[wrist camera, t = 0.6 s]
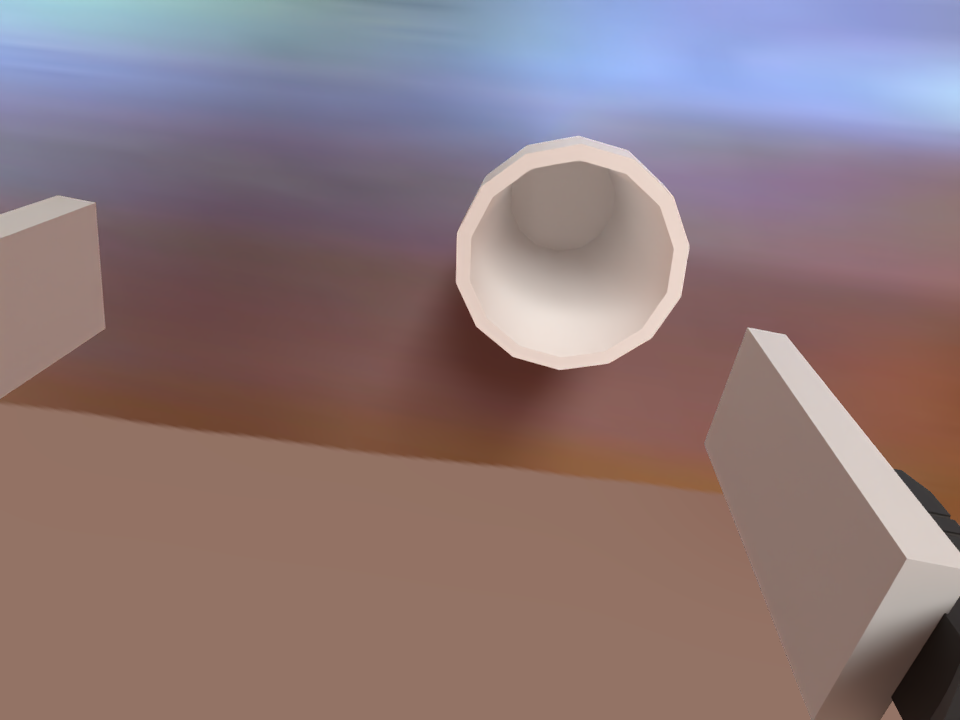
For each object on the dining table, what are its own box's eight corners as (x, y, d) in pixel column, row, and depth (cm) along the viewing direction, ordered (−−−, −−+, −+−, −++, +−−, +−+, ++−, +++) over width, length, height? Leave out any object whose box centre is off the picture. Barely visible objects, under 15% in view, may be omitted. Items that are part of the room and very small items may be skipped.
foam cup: (463, 250, 41) (431, 334, 30) (504, 91, 37) (486, 116, 26) (613, 292, 42) (640, 392, 30) (670, 140, 38) (727, 186, 26)
